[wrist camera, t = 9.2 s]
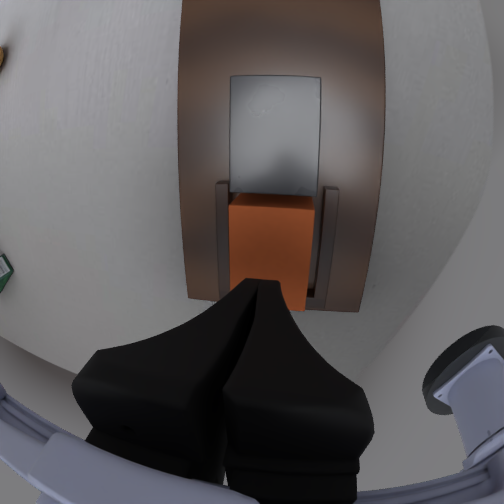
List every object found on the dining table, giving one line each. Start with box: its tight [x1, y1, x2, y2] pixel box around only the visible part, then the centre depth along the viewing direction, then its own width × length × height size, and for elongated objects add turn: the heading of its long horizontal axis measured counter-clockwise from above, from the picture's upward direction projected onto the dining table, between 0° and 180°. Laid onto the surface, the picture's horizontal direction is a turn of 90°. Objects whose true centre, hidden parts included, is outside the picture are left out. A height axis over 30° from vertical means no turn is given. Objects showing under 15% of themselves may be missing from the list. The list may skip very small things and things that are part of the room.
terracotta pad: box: [229, 193, 315, 311], centre depth 16 cm, size 6×4×4 cm
